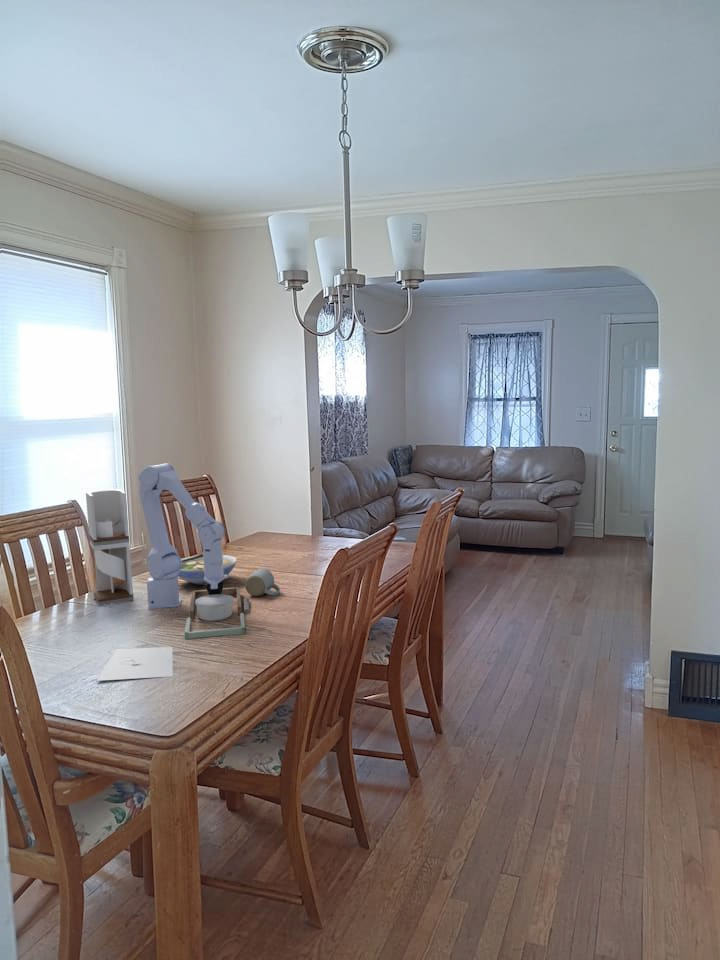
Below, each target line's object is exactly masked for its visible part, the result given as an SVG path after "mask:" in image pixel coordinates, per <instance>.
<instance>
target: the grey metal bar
mask: <svg viewBox="0 0 720 960" xmlns="http://www.w3.org/2000/svg"><path fill="white" fill-rule="evenodd" d="M243 611H244V612H243V614H249V613H250V598H249V597H248V598H244V599H243Z"/></svg>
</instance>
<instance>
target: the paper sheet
mask: <svg viewBox="0 0 720 960" xmlns="http://www.w3.org/2000/svg"><path fill="white" fill-rule="evenodd" d="M173 670H174V669H173V646H162V647H159V646H158V647H143V648H142V647H141V648H140V647H138V648H137V647H135V648H121V649H120V648H119V649H115V650H114V651H113V653H112V655H111V656H110V659H109V660H108V662H107V664H106V665H105V667H104V668H103V669H102V671H101V673H100V675H99V676H98V678H97V680H96V681H97V682H101V681H115V680H116V681H117V680H130V679H131V680H132V679H149V678H150V679H151V678H164V677H165V678H166V677H173V675H174V674H173Z"/></svg>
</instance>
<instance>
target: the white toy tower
mask: <svg viewBox="0 0 720 960" xmlns="http://www.w3.org/2000/svg"><path fill="white" fill-rule="evenodd" d="M85 498H86V499H85V500H86V511H87V524H88V538H89V545H90V546H91V548H92V549H93V552H94V553H93V555H94V556H93V557H94V566H95V578H96V580H95V581H96V590H93V599H94V600H95V599H96V600H95V602H96V601H97V602H96V603H98V604H97V605H98V606H99V605H101V606H105V605H104V604H107V605H112V604H111V603H114V604H119V602H120V603H126V601H127V602H131V601H132V602H133V601H134V591H133V590H134V589H133V577H132V561H131V560H132V559H131V550H130V549H131V548H130V534H129V533H130V531H129V519H128V506H127V505H128V503H127V493H126V491H124V490H123V489H120V488H117V489H106V490H95V491H94V490H93V491H85Z"/></svg>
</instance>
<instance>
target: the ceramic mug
mask: <svg viewBox="0 0 720 960" xmlns="http://www.w3.org/2000/svg"><path fill="white" fill-rule="evenodd" d="M244 587H245V591H246V592H247V593H248V594H249V595H250V596H253V597H259V596H260V597H261V596H263V595H265V594H266V595H269V596H273V597H275V596H278V595H279V594H280V591H281V588H280V586H278V585H277V584H276V583H275V577H274V574H273V573H272V572H271V571H270V570H269V569H267V568H264V567H262V568H257V569H255V570H254V572H253V573H252V574H250V575H249V576H248V577H247V578H246V580H245V583H244ZM272 589H274V590H275V591H273V590H272Z"/></svg>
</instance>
